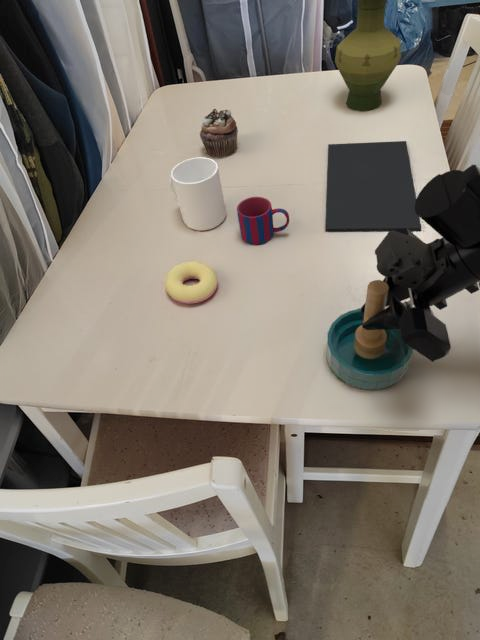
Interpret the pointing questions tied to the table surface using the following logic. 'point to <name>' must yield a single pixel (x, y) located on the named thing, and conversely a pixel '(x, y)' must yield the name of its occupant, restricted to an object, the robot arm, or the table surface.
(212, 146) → the cupcake
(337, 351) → the bowl
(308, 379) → the table surface
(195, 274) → the donut
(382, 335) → the stick
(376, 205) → the mat
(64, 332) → the table surface
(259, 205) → the cup
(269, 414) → the table surface
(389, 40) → the vase
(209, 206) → the mug
